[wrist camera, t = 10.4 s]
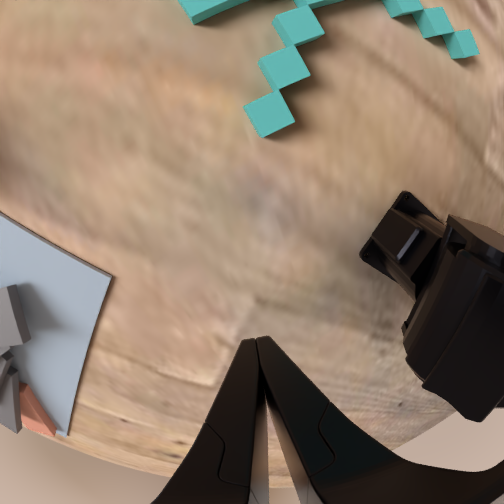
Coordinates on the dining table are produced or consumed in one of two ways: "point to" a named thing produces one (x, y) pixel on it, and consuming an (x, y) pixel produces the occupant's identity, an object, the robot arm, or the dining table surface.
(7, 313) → the domino
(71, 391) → the mat
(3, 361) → the domino
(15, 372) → the domino
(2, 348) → the domino
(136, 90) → the dining table surface
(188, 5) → the alien figure
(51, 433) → the domino
